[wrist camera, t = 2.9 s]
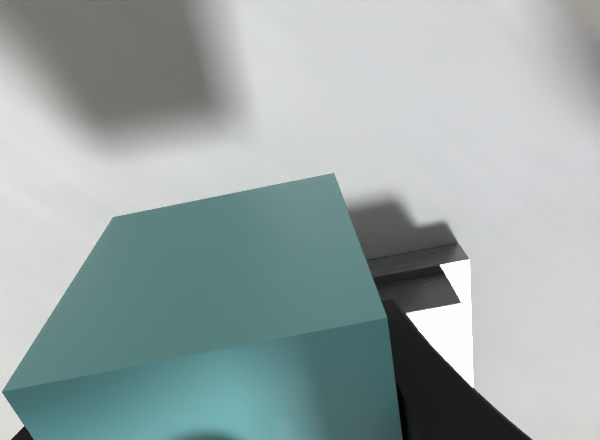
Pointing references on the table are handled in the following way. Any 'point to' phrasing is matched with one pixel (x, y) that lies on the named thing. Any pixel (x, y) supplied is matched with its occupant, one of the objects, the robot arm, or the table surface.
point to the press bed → (433, 298)
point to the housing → (218, 328)
